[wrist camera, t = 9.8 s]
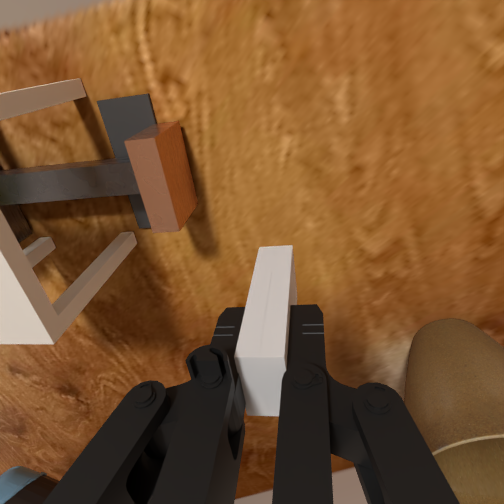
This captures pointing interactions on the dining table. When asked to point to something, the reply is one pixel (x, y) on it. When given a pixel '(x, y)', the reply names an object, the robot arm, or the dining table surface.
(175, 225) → the long-handled tray
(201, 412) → the robot arm
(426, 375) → the plant pot
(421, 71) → the dining table surface
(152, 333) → the dining table surface
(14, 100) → the white mini stool
